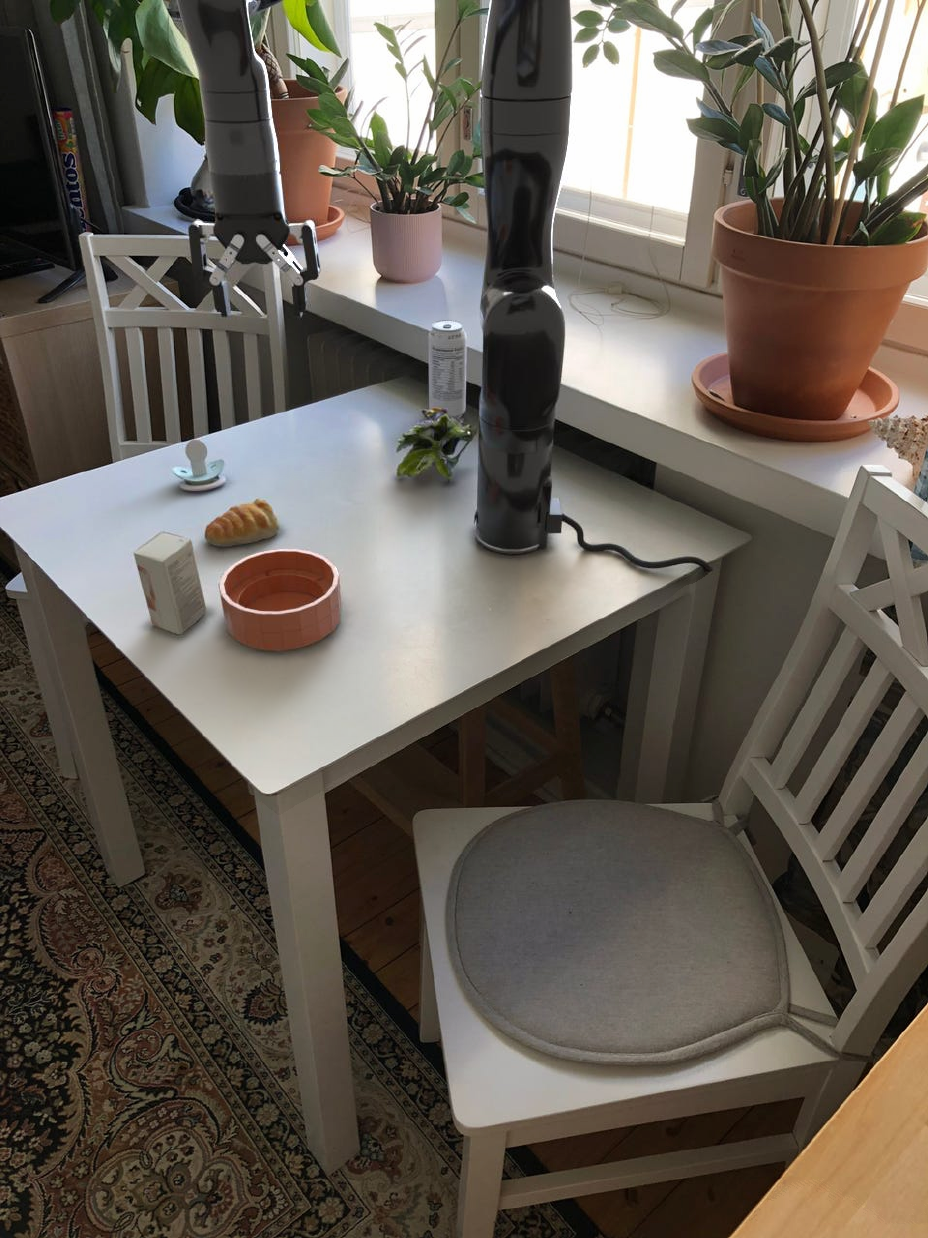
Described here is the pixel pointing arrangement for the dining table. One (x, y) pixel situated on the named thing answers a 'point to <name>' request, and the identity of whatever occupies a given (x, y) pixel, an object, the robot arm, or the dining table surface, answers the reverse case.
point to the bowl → (281, 599)
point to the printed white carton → (170, 582)
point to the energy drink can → (447, 367)
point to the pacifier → (199, 469)
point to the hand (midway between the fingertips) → (262, 315)
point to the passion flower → (434, 443)
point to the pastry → (243, 525)
